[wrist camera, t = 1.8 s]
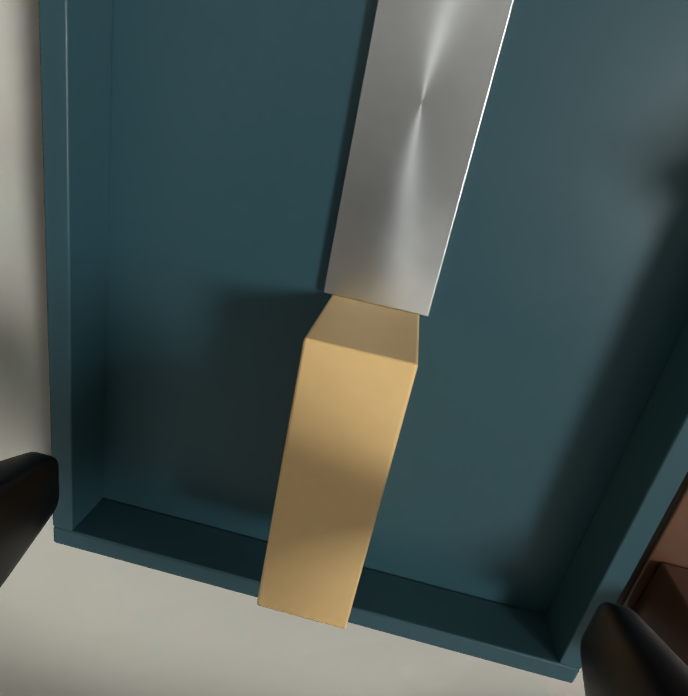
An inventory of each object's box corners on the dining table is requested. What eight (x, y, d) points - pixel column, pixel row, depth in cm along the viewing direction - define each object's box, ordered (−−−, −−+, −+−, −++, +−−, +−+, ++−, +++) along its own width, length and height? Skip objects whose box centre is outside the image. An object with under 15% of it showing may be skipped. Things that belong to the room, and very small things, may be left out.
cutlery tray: (555, 619, 16) (572, 685, 14) (95, 497, 17) (52, 542, 15) (963, -215, 9) (1119, -322, 7) (105, -348, 10) (23, -476, 8)
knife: (368, 533, 15) (353, 633, 12) (283, 511, 15) (247, 604, 12) (555, -155, 9) (622, -313, 6) (413, -179, 9) (407, -344, 6)
